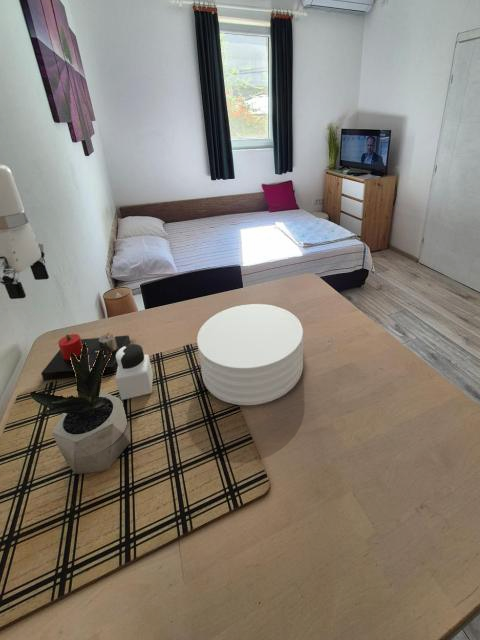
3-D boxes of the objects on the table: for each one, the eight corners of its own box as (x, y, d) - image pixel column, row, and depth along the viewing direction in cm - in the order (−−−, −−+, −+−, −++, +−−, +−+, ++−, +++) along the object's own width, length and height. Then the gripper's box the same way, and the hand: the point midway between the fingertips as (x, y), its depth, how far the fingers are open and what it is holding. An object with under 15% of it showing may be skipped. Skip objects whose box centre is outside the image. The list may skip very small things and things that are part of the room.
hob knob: (115, 354, 93) (111, 340, 91) (100, 356, 92) (96, 342, 90) (119, 345, 96) (115, 332, 94) (105, 347, 96) (101, 333, 94)
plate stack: (214, 421, 74) (209, 383, 70) (194, 349, 98) (189, 317, 94) (321, 383, 85) (322, 347, 80) (279, 326, 108) (278, 296, 104)
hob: (43, 380, 87) (40, 372, 86) (69, 347, 100) (66, 339, 99) (118, 373, 89) (116, 365, 88) (134, 341, 102) (132, 334, 101)
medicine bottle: (153, 374, 89) (145, 338, 84) (151, 393, 82) (143, 355, 78) (124, 380, 87) (114, 344, 82) (121, 401, 80) (110, 362, 76)
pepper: (59, 360, 90) (52, 341, 88) (68, 348, 95) (62, 329, 93) (79, 359, 91) (72, 339, 88) (87, 347, 96) (81, 328, 93)
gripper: (13, 212, 81) (35, 273, 87) (-43, 234, 65) (-11, 307, 72) (45, 210, 82) (64, 272, 88) (-2, 232, 66) (25, 305, 72)
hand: (30, 288), depth 80 cm, fingers open, 9 cm apart
